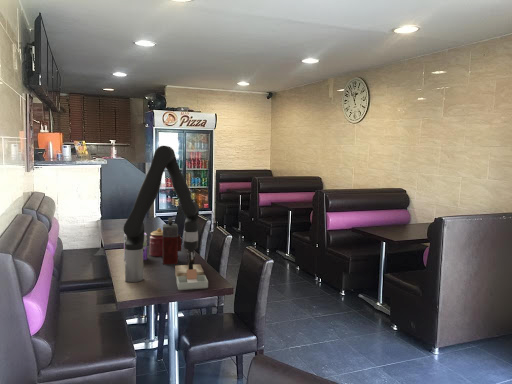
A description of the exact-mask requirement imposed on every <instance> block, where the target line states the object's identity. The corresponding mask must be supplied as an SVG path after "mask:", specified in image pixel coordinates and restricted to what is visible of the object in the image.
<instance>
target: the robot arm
mask: <svg viewBox="0 0 512 384" xmlns="http://www.w3.org/2000/svg"><path fill="white" fill-rule="evenodd" d="M165 170H167V172H168V175H169V178H170V181H171V184H172V187H173V189H174V192H175V194H176V196H177V198H178V201H179V204H180V206H181V210H182V212H183V213H184V215H185V220H184V224H183V226H184V230H183V231H184V232H183V249H184V250H186V255H187V257H186V258H187V265H189V268H188V270H191V269H193V265H195V257H196V252H195V250H197V249H198V248H199V228H198V220H199V215H200V207H199V204H198V202H195V201H193V199H192V193H191V190H190V188H189V186H188V184H187V182H186V180H185V178H184V176H183V173H182V171H181V169H180V166H179V163H178V160H177V156H176V153H175V150H174V149H173V147H171V146H168V145H161V146H159V147H156V149H155V151H154V153H153V156H152V160H151V164H150V167H149V168H148V171H147V173H146V175H145V177H144V180H143V181H142V183H141V186H140V187H139V191H138V193H137V196H136V199H135V202H134V205H133V208H132V210H131V212H130V214H129V216H128V218H127V219H126V221H125V222H124V225H123V233H124V234H125V235H126V236H127V240H126V243H125V261H124V262H125V264H124V267H125V268H124V278H125V279H124V282H129V283H137V282H141V281H143V280H144V260H143V243H144V233H145V225H144V220H145V217H146V216H147V213H148V212H149V210H150V209H151V207H152V206H153V204H154V202H155V201H156V199H157V196H158V194H159V192H160V188H161V184H162V178H163V174H164V172H165Z"/></svg>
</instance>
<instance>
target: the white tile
mask: <svg viewBox="0 0 512 384" xmlns="http://www.w3.org/2000/svg"><path fill="white" fill-rule="evenodd" d="M187 282H197V279H187Z"/></svg>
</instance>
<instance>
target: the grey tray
mask: <svg viewBox="0 0 512 384" xmlns="http://www.w3.org/2000/svg"><path fill="white" fill-rule="evenodd" d="M176 286H177V291H185V290H186V291H188V290H200V289H208V288H209V280H208V279H207V276H206V274H204V275H197V282H187V276H179V277H177V279H176Z"/></svg>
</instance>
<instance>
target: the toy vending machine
mask: <svg viewBox="0 0 512 384" xmlns="http://www.w3.org/2000/svg"><path fill="white" fill-rule="evenodd" d="M167 219H168V221H167V223H164V224H162V230H163V256H162V264H163V265H177V264H179V252H182V238H181V234H180V233H179V225H178V224H177V223H173V217H167Z"/></svg>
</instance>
